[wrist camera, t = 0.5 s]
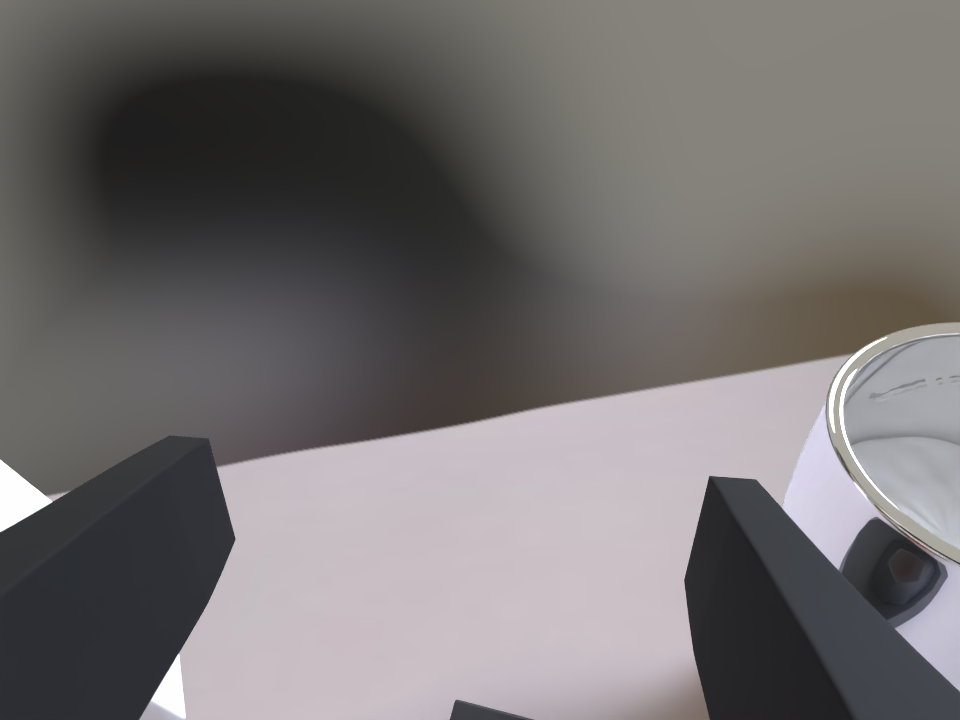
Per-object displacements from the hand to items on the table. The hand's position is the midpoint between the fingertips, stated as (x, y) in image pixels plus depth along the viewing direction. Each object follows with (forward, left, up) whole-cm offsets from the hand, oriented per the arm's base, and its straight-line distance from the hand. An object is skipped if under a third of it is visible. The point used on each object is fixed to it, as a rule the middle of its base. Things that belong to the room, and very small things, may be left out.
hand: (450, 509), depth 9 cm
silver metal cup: (+5, -9, -18) cm, 21 cm away
